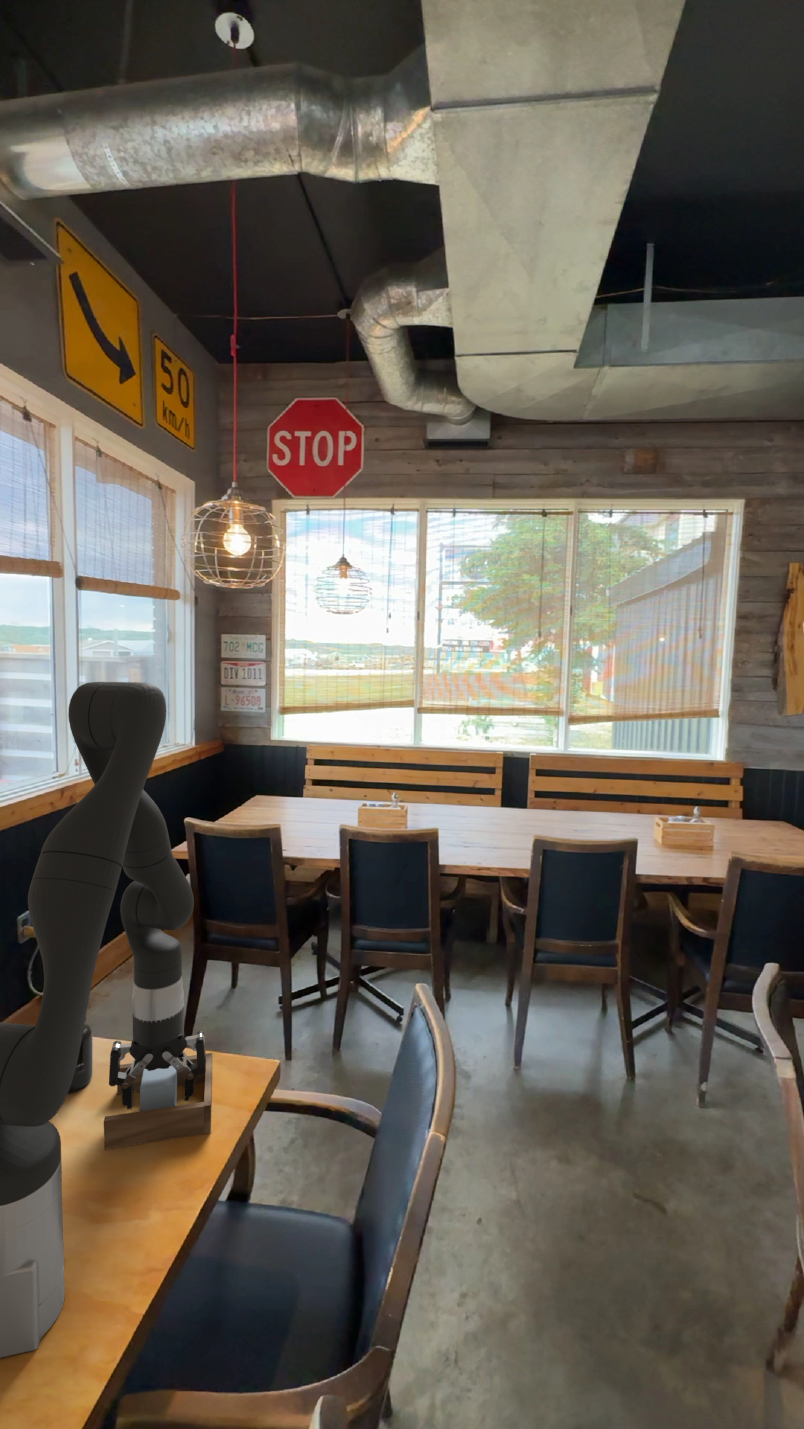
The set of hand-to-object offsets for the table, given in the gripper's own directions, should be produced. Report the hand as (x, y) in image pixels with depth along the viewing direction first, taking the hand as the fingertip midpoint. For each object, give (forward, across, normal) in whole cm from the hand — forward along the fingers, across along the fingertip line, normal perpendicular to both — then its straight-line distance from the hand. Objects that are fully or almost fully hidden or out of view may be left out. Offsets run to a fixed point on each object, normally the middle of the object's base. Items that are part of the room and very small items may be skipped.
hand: (159, 1101), depth 103 cm
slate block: (+2, 0, 0) cm, 2 cm away
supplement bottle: (+2, -15, +10) cm, 18 cm away
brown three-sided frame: (+2, 0, 0) cm, 2 cm away
